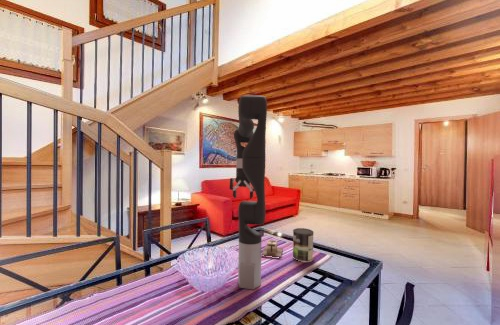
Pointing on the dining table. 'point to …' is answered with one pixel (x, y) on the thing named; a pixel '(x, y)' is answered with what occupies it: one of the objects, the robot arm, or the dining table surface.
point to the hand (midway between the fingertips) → (243, 198)
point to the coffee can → (303, 244)
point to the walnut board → (277, 254)
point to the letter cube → (271, 246)
